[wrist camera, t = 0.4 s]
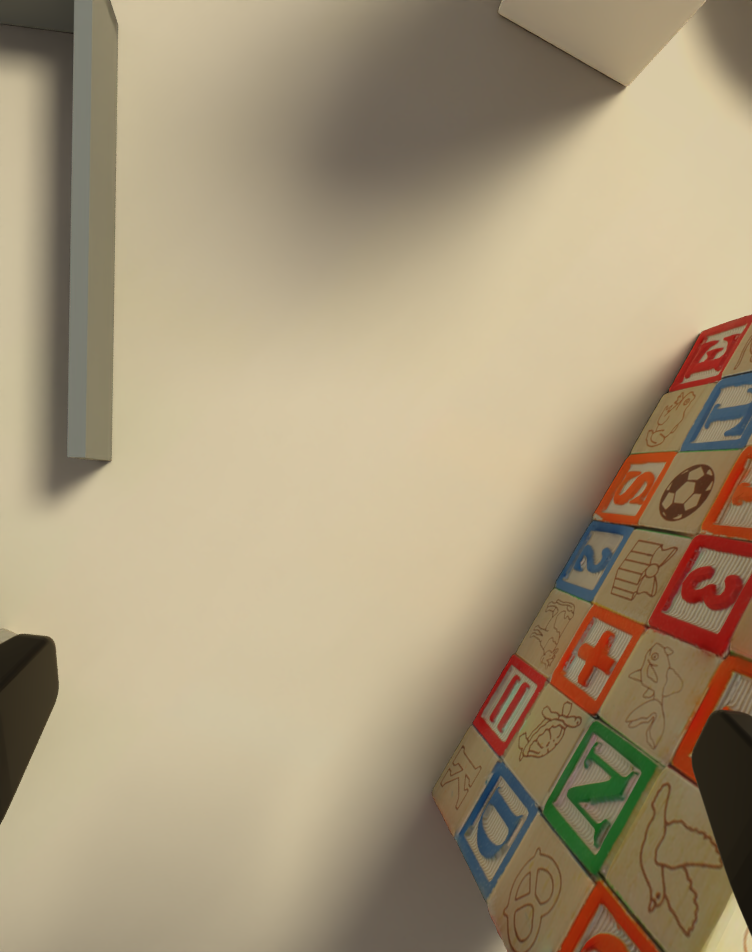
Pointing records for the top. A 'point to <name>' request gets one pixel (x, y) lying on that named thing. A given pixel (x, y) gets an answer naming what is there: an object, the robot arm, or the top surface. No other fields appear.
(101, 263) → the box
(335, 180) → the top surface
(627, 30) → the milk
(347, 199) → the top surface
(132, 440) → the top surface
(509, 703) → the stack of blocks
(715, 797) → the robot arm
